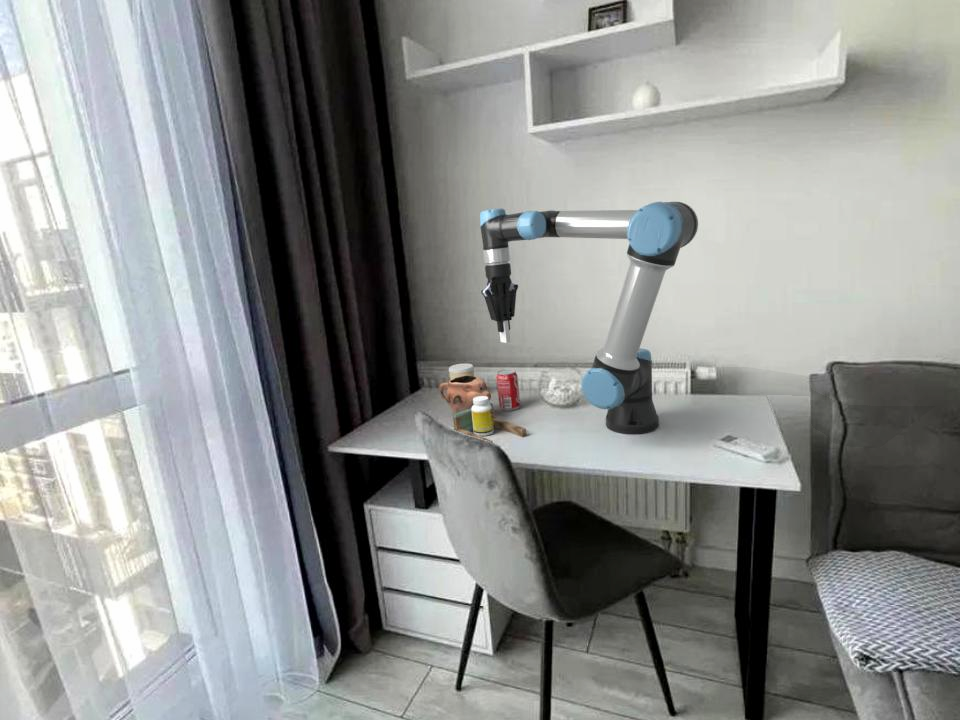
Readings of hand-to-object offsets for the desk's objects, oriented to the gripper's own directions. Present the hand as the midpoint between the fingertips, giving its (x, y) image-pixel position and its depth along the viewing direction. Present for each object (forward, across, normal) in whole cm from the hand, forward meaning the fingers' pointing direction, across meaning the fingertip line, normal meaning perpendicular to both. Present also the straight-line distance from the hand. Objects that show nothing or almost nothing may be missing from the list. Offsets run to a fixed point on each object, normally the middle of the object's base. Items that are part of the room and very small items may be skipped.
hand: (505, 341), depth 168 cm
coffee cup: (+26, -8, -35) cm, 44 cm away
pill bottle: (+26, +11, -2) cm, 29 cm away
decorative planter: (+26, +6, -16) cm, 31 cm away
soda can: (+26, -10, -12) cm, 30 cm away
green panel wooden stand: (+26, +11, +2) cm, 29 cm away
